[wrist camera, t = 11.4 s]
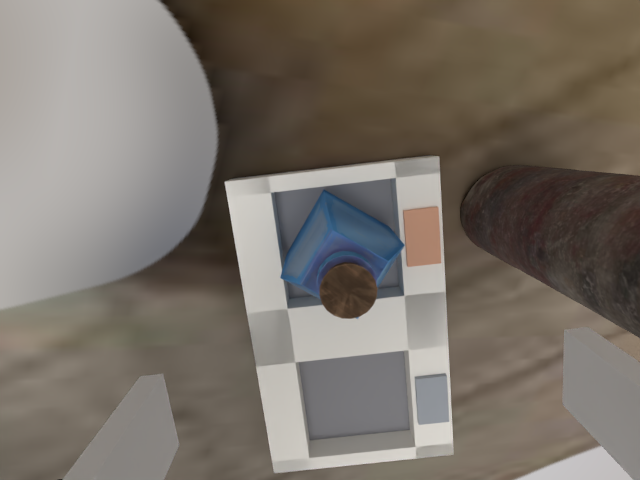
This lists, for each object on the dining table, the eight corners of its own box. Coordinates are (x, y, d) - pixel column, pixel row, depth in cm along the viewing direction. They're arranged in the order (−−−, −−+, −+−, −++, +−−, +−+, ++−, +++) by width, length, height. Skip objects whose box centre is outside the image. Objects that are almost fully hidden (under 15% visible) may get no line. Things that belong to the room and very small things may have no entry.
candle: (504, 142, 33) (776, 144, 13) (568, 197, 34) (907, 274, 14) (440, 217, 34) (604, 317, 15) (505, 268, 35) (736, 424, 16)
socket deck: (444, 432, 39) (455, 457, 36) (277, 450, 39) (273, 476, 36) (429, 155, 33) (440, 156, 30) (232, 178, 33) (223, 182, 30)
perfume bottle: (389, 226, 34) (427, 271, 22) (350, 288, 35) (367, 362, 23) (323, 189, 33) (327, 215, 21) (286, 253, 34) (271, 312, 23)
